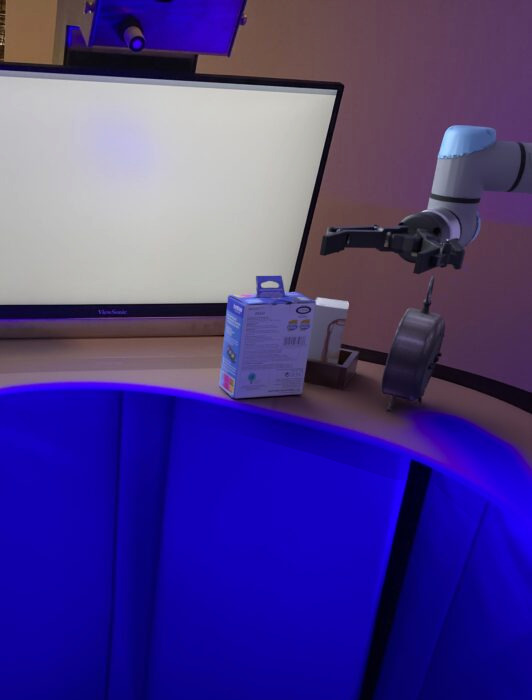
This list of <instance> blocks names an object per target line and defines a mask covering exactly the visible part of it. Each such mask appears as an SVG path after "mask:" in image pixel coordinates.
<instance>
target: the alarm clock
mask: <svg viewBox="0 0 532 700" xmlns="http://www.w3.org/2000/svg"><path fill="white" fill-rule="evenodd" d="M429 280H430V281H429V283H428V287H427V292H426V298H425V299H424V300H423V302H422V303H423V305H422V307H421V309H418V308H414V307H409V308H407V309H406V311H405V312H404V313H403V316H402V317H401V320H400V321H399V324H398V325H397V328H396V331H395V334H394V336H393V339H392V342H391V345H390V347H389V352H388V354H387V357H386V362H385V366H384V368H383V374H382V378H381V384H380V385H381V392H382V394H383V395H388V396H390V398H389V402H388V406H387V408H386V410H385V411H386V412H387V413H391V412H392V411H393V406H394V405H395V403H396V401H397V398H398V399H403V400H406V401H410V402H414V401H418V403H419V406H420V407H421V408H422V409H423V408H424V404H423V396H424V395H425V393H426V389H427V387H428V385H429V383H430V381H431V378H432V375H433V372H434V371H435V370H434V369H435V367H436V364H437V363H438V362H439V360H440V358H441V357H442V354H443V352H441V348H442V344H443V340H444V337H445V331H446V322H445V318H444V317H443V316H442V315H441V314H439V313H435V312H431V311H430V306H432V300H431V298H432V296H433V290H434V285H435V277H434V276H431V278H430V279H429Z"/></svg>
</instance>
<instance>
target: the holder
mask: <svg viewBox="0 0 532 700" xmlns="http://www.w3.org/2000/svg"><path fill="white" fill-rule="evenodd" d="M359 355H360V351H359V350H354V349H353V350H352V349H347V348H342V347H341V348H340V353H339V359H338V364H333V363H328V362H323V361H318V360H312V359H307V363H306V370H305V377H304V382H305V383H309V384H314V385H319V386H324V387H328V388H333V389H339V390H344V389H345V388H346V386H347V384H348V383H349V382H350V380H351V379H352V378H353V376H354V375H355V374H356V371H357V366H358V361H359Z"/></svg>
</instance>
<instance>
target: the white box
mask: <svg viewBox="0 0 532 700" xmlns="http://www.w3.org/2000/svg"><path fill="white" fill-rule="evenodd" d="M314 301H315V302H316V306H315V312H314V318H313V324H312V331H311V337H310V343H309V350H308V357H307V359H312V360H318V361H323V362H328V363H333V364H338V359H339V353H340V348H342V343H343V337H344V333H345V328H346V323H347V318H348V311H349V308H350V307H349V306H350V304H349V301H348V300H340V299H334V298H327V297H319V296H317V297H316V298H315V300H314Z"/></svg>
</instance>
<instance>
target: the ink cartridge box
mask: <svg viewBox="0 0 532 700" xmlns="http://www.w3.org/2000/svg"><path fill="white" fill-rule="evenodd" d="M267 282H273V283H276V284H277V285H278V287H262V284H264V283H267ZM255 291H256V293H243V294H228V295H227V304H226V313H225V324H224V333H223V335H224V336H223V346H222V355H221V364H220V375H219V384H218V386H219V387H220V388H221V389H222V390H223V391H224V392H225V393H226V394H227V395H228V396H229V397H231V398H232V399H236V400H237V399H247V398H249V399H250V398H262V397H263V398H264V397H278V396H280V397H281V396H292V395H293V396H294V395H302V394H303V390H304V389H303V388H304V384H305V383H304V377H305V370H306V363H307V357H308V350H309V343H310V337H311V331H312V324H313V318H314V312H315V306H316V302H315V300H313V299H311V298H309V297H307V296H305V295H304V294H302V293H300V292H296V291H291V292H290V291H285V286H284V281H283V276H282V275H255Z"/></svg>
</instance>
